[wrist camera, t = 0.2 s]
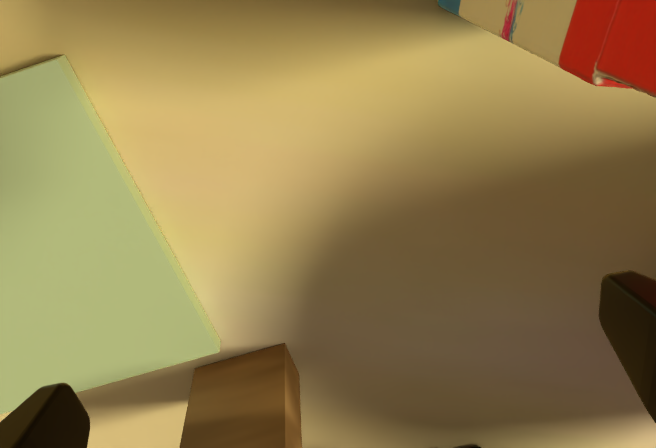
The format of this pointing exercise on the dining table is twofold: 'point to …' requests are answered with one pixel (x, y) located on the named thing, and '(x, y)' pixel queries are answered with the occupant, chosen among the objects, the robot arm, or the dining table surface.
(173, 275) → the felt mat
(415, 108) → the dining table surface
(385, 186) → the dining table surface
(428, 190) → the dining table surface
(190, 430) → the walnut slab
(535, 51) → the ink box
